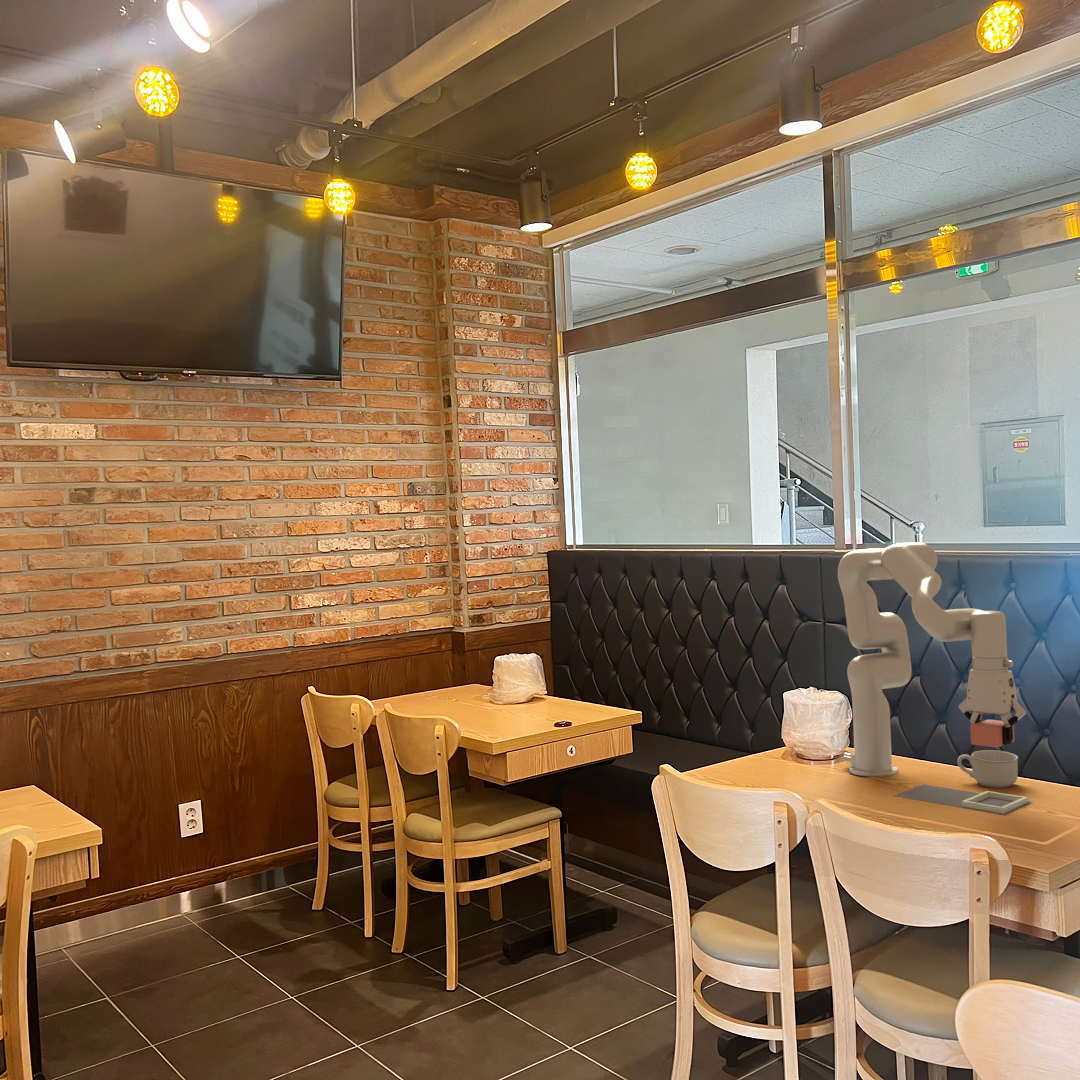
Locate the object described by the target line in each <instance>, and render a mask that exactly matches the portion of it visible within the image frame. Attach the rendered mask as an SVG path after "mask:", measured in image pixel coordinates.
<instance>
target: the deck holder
mask: <svg viewBox="0 0 1080 1080" xmlns="http://www.w3.org/2000/svg"><path fill="white" fill-rule="evenodd" d="M988 797H992V798H998V799H1004V800H1010V801H1014V802H1011V803H1009V804H1007V805H1005V806H1002V807H999V806H993V805H987V804H981V803H976V802H978V801H981V800H983V799H986V798H988ZM1028 801H1029V797H1028V796H1022V795H1015V794H1008V793H1004V792H1003V793H1002V792H997V791H990V790H985V791H983V792H981V794H978V795H976V796H973V797H971V798H968V799H966V800H963V801H962V806H963V807H969V808H975V809H980V810H986V811H992V812H997V813H1003V814H1004V813H1006V812H1008V811H1010V810H1013V809H1015V808H1017V807H1019V806H1022V805H1024V804H1026V803H1028Z"/></svg>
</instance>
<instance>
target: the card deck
mask: <svg viewBox="0 0 1080 1080" xmlns="http://www.w3.org/2000/svg"><path fill="white" fill-rule="evenodd" d="M980 721H981V722H978V723H975V724H970V725H969V726H970V730H969V731H970V744H971V745H974V746H982V747H988V748H989V747H990V748H1000V747H1002V746H1005V745H1004V744H1003V735H1002V728H1003V727H1004V723H1003V721H1002V720H997V719H985V720H980ZM1014 742H1015V725H1014V726H1013V740H1012V742H1011V743H1014Z"/></svg>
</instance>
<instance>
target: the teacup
mask: <svg viewBox="0 0 1080 1080" xmlns="http://www.w3.org/2000/svg"><path fill="white" fill-rule="evenodd" d="M963 759H966V760H968V762H969V764H970V765H971V770H970V769H969V768H966V766H964V765H963V764H962V763H963V762H962V761H963ZM1018 760H1019V756H1018V755H1016V754H1014V753H1012V752H1009V751H1004V750H1003V751H1002V750H993V749H991V750H990V749H986V750H985V749H984V750H983V749H982V750H976V751H973V752H972V753H971V755H969V754H967V753H966V754H961V755H959V756H958V758H957V761H956V763H957V767H958V768H959V769H960V770H961V771H963V772H964V773H965V774H968V775H969V777H970V778H972V779H974V780H975V781H976V782H977V783H978V784H979V785H981V786H984V787H987V788H993V789H994V788H997V789H999V788H1000V789H1002V788H1009V787H1011V786H1012V785H1014V784H1015V783H1016V782H1017V780H1018V774H1019V769H1018V765H1019V764H1018V763H1019V761H1018Z"/></svg>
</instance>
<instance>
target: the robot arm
mask: <svg viewBox="0 0 1080 1080" xmlns="http://www.w3.org/2000/svg"><path fill="white" fill-rule="evenodd" d="M937 566H938V556H937V553H936V551H935V550H934V548H933V547H931V546H930V545H929V544H927V543H925V542H902V543H901V542H900V543H894V544H891V545H888V546H887V547H885V548H883V547H881V548H861V549H860V548H859V549H856V550H855V549H854V550H852V551H850V552H847V553H846V554H844V555H843V557H842V558H841V559H840V561H839V563H838V566H837V579H838V584H839V587H840V590H841V593H842V596H843V602H844V603H843V604H844V611H845V620H846V627H847V633H848V639H849V642H850V644H851V645H852V647H853V648H855V649H858V650H874V649H875V650H876V649H881V653H878V652H877V653H870V654H862V655H858V656H856V657H854V658H852V659H851V660H850V662H849V663H848V665H847V669H846V672H847V673H846V674H847V681H848V683H849V688H850V692H851V702H852V703H851V704H852V705H851V706H852V720H853V721H852V723H853V726H852V727H853V750H854V751H853V753H851V752H844V753H843V756H842V760H843V761H844V762H850V765H849V767H848V772H850V773H851V774H852V775H856V776H860V777H869V778H871V777H886V776H893V775H897V774H898V773H899V768H898V767H897V766H896V765H893V762H892V760H893V759H892V735H891V733H892V732H891V710H890V703H889V701H888V699H887V697H886V695H885V694H884V692H883V690H886V689H894V688H900V687H903V686H906V685H907V684H908V683H909V682H910V680H911V677H912V673H913V672H912V662H911V652H910V644H909V637H908V633H907V632H908V630H907V628H906V624H905V623H904V621H903V619H902V618H901V617H900V616H899V615H898V614H896V613H893V612H880V611H879V607H878V600H877V599H878V598H877V596H876V593H875V591H874V590H873V588H872V587H871V586H870V585H869V583H867V582H869V581H883V580H894V581H895V582H897V584H898V585H899V586H900V587H901V588H902V589H903V590H904V591H905V593H907V594H908V595H909V596H910V597H911V609H912V614H913V616H914V618H915V620H916V622H917V623H918V624H919V625H920V626H921V627H922V629H923V630H924V631H926V633H927V634H928V635H929V636H931V637H932V638H933V639H935V640H937V641H939V642H942V643H943V642H945V643H947V642H959V641H971V644H970V645H971V663H972V668H970V669H969V673H968V679H967V687H966V688H967V689H966V697H965V699H964V700H963V701H962V702H961V703H959V705H958V709H959V710H960V711H961V712H962V713H963V714H964V716H965V717H966V718H967V719H968V720H969V723H970V725H972V724H975V723H978V722H981V721H982V720H981V719H982V716H983V715H984V714H989V715H999V716H1000V718H1001V721H1003V723H1004V727H1003V728H1002V735H1003V744H1004V745H1003V746H1008V745H1010V744H1012V743H1013V742H1012V740H1013V726H1014V727H1015V724H1017V723H1018V722H1019V721H1020V720H1021V719H1022V718H1023V717H1024V716H1026V714H1027V711H1026V709H1024V708H1023V706H1022V705H1021V704H1020V703H1019V702H1018V697H1017V689H1016V683H1015V678H1014V675H1013V671H1012V670H1009V669H1010V668H1009V667H1013V666H1014V661H1013V660H1010V659H1009V657H1008V647H1007V646H1008V645H1007V620H1006V615H1005V613H1004V612H1002V611H999V610H982V609H978V608H971V607H970V608H969V607H968V608H967V607H966V608H954V609H953V608H951V609H943V608H942V607H940V606H939V604H937V603H936V602H935V601H934V599H933V598H934V597H935V596H936V595H937V594H938V592H939V591H940V589H941V587H942V578H941V577H942V576H940V575H939V574H938V573H937V572H936V571H935V569H936V568H937ZM1012 713H1015V714H1013V716H1012Z"/></svg>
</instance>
